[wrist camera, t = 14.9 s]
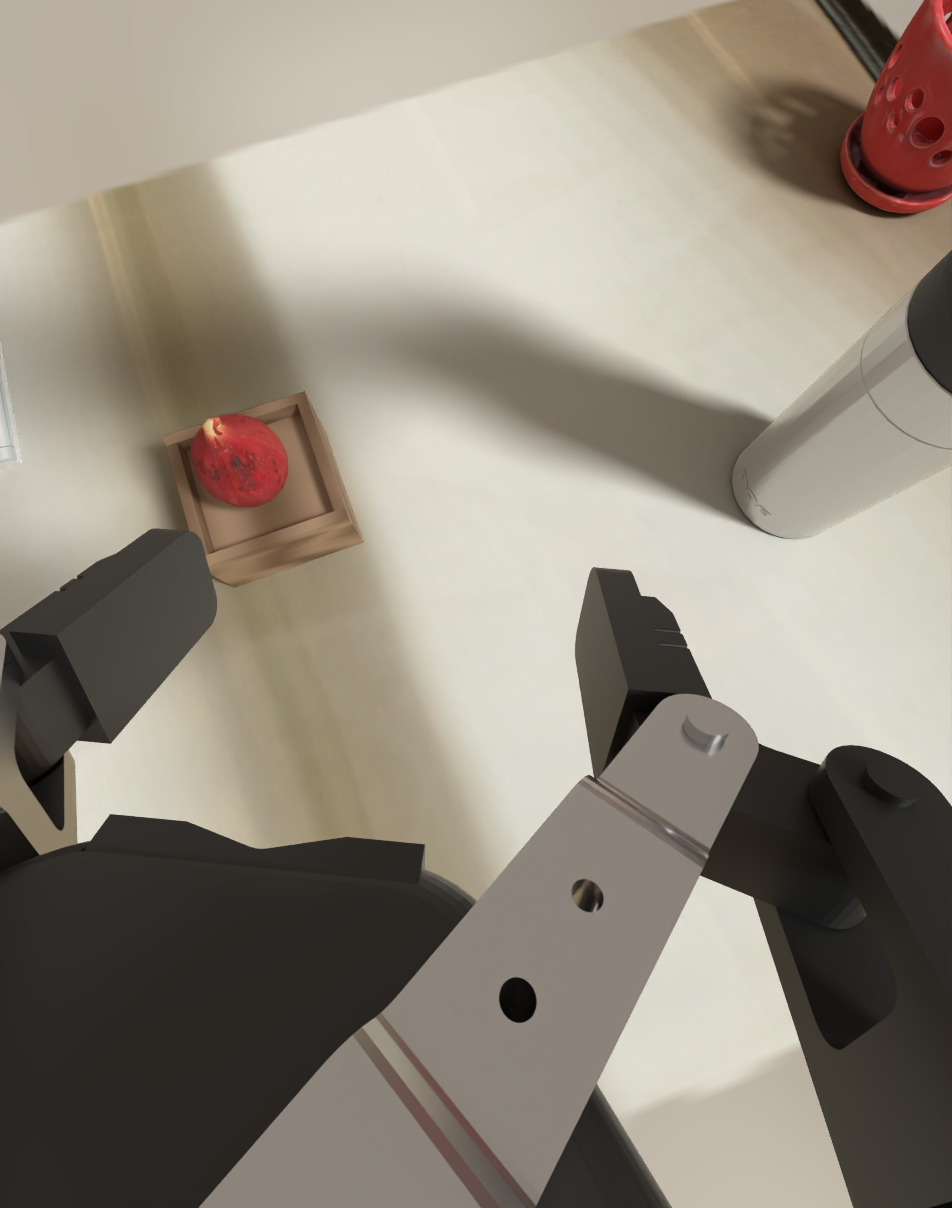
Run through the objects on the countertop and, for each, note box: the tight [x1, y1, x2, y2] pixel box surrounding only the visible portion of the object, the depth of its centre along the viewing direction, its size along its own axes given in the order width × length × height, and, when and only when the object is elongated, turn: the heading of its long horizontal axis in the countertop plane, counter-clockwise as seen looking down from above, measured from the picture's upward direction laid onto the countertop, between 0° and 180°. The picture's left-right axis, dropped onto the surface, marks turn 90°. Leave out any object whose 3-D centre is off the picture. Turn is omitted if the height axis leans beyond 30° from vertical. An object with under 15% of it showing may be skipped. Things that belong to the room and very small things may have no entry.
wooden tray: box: [163, 391, 364, 587], centre depth 39 cm, size 11×11×5 cm
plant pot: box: [840, 0, 952, 213], centre depth 43 cm, size 13×13×12 cm
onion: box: [191, 414, 288, 507], centre depth 33 cm, size 6×6×8 cm
